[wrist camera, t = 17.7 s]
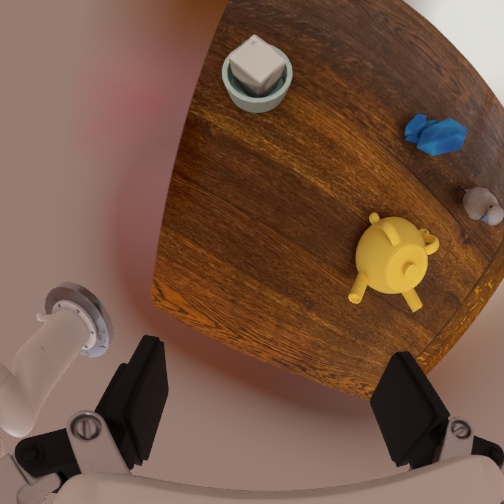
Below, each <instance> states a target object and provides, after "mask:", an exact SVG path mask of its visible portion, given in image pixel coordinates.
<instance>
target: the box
mask: <svg viewBox="0 0 504 504" xmlns="http://www.w3.org/2000/svg"><path fill="white" fill-rule="evenodd" d="M229 61H230V65H231V69H232V74H233V79H234V83H235V85H236V86H237V87H238V88H239V89H240V90H241V91H242V92H243V93H245V94H246V95H247V96H248V97H252V98H264V97H267V96H268V95H269V94H270V93H271V92H272V91H273V90H274V89H275V88H276V87H277V85H278V82H279V79H280V77H281V74H282V72H283V69H284V67H285V65H286V63H287V60H286V59H285V58H284V57H283V56H282V55H281V54H280V53H279V52H277V51H276V50H275V49H274V48H273V47H271V46H270V45H269V44H267V43H266V42H265V41H263V40H262V39H261V38H259V37H258V36H256V35H253V36H251V37H250V38H249V39H248V40H247V41H245V42H244V43H243V44H242V45H241V46H239V47H238V48H237V49H236V50H235V51H234V52H233V53H232V54H231V55H230V56H229Z"/></svg>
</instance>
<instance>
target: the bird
mask: <svg viewBox="0 0 504 504" xmlns="http://www.w3.org/2000/svg"><path fill="white" fill-rule="evenodd" d="M454 186H455V185H454ZM455 187H456V188H457V189H456V190H454V191H458V192H457V194H458V193H459V191H460V190H462V191H466V192H467V193H466V194H465V195H464V197H463V201H462V200H459V199H457V200H458V201H459V202H457V203H455V204H458V203H459V206H460V204H461V203H463V205H464V208H465V210H466V211H467V213H468V214H470V215H468V216H469V217H470V218H472V219H477V220H479V221H483V222H487V223H488V224H489V225H496V224H498V223H500V221H501V220H502V219H503V217H504V211H503V209H502V208H501V207H500V206H499V205H498V202H497V200H496V198H495V197H494V196H493V195H492V194H491V193H489V191H488V189H486V188H481V187H475V188H472V189H463V188H460V187H457V186H455ZM457 194H456V195H457ZM459 206H458V207H459ZM458 207H457V208H458Z"/></svg>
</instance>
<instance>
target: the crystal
mask: <svg viewBox="0 0 504 504" xmlns="http://www.w3.org/2000/svg"><path fill="white" fill-rule="evenodd" d="M426 117H427V115H420V114H417V115H416V116H415V117H414V118H413V119H412V120H411V121H410V122H409V123H408V125H407V126H406V128H405V135H404V136H406V137H405V140H406V141H408V142H411V143H418V144H417V148H418V149H420V150H422V151H424V152H426V153H428V154H430V155H431V156H435V155H439V154H443V153H447V152H451V151H455V150H459V149H461V147H462V145H463V142H464V139H465V136H466V134H467V131H468V129H467V128H465V127H464V126H462V125H461V124H459V123H457V122H456V121H454V120H453V119H451V118H448V119H446V120H444V121H441V122H438V121H437V120H427V121H426Z"/></svg>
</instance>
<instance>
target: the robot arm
mask: <svg viewBox="0 0 504 504" xmlns="http://www.w3.org/2000/svg"><path fill="white" fill-rule="evenodd" d="M36 318H37V320H39V321H41V322H45V324H44V325H43V326H42V327H41V328H40V329H39V330H38V331H37V332H36V333H35V334H34V335H32V336H31V338H30V339H29V340H28V341H27V342H26V343H25V344H24V345H23V346H22V347H21V348H20V349H19V350H18V351H17V353H16V354H15V357H14V361H13V374H12V373H11V372H10V371H9V370H8V369H7V368H6V366H5V365H4V364H3V362H2V361H1V360H0V427H1V428H2V429H3V430H4V431H6V432H7V433H8V434H10V435H12V436H15V437H24V436H26V435H28V434H29V433H30V431H31V430H32V429H33V427H34V425H35V422H36V420H37V417H38V415H39V412H40V410H41V407H42V405H43V403H44V401H45V400H46V398H47V396H48V395H49V393H50V392H51V390H52V389H53V387H54V386H55V385H56V383H57V382H58V381H59V379H60V378H61V376H62V375H63V374H64V372H65V371H66V370H67V368H68V367H69V366H70V364H71V363H72V362H73V360H74V359H75V357H76V356H77V355H78V354H79V352H80V351H81V350H82V349H83V350H87V349H90V348H92V347H93V346H94V344H95V343H96V341H97V329H96V326H95V324H94V322H93V320H92V318H91V317H90V315H89V314H88V313H87V312H86V311H85V310H84V309H83V308H82V307H81V306H80V305H78V304H77V303H75V302H73V301H70V300H60V301H58V302H57V303H56V304H55V305H54V306H53V309H52V314H51V315H49V314H48V315H45V314H43V313H40V312H38V313H37V316H36ZM167 396H168V380H167V371H166V361H165V350H164V342H162V341H160V340H159V338H158V337H154V336H148V335H144V336H143V338H142V339H141V341H140V343H139V345H138V347H137V349H136V350H135V352H134V354H133V356H132V358H131V359H130V361H129V363H128V364H126V363H122V364H120V366H119V367H118V369H117V371H116V373H115V374H114V376H113V378H112V380H111V381H110V383H109V385H108V387H107V389H106V391H105V392H104V394H103V396H102V398H101V400H100V402H99V404H98V405H97V407H96V409H95V411H94V412H93V411H88V410H85V411H79V412H76V413H74V414H73V415H71V416H70V418H69V419H68V421H67V424H66V428H64V429H60V430H57V431H53V432H49V433H46V434H42V435H38V436H33V437H29V438H26V439H23V440H21V441H20V442H19V443H18V444H17V446H16V448H15V454H13V455H10V454H9V453H8V454H6V455H5V456H4V453H5V445H4V442H3V440H2V439H1V437H0V504H40V502H42V501H43V500H45V499H46V498H45V496H47V495H48V494H50V493H51V492H52V493H57V495H56V496H55V498H54V500H53V502H52V504H504V453H503V451H502V449H501V447H500V446H499V445H497V444H495V443H492V442H490V441H487V440H485V439H482V438H479V437H477V436H474V429H473V426H472V424H471V423H470V422H469V421H468V420H467V419H465V418H463V417H454V418H452V419H451V420H450V421H449V420H448V417H449V416H450V413H449V412H448V410H447V409H446V407H445V405H444V404H443V402H442V401H441V399H440V397H439V396H438V394H437V393H436V391H435V389H434V388H433V386H432V385H431V383H430V382H429V380H428V379H427V377H426V376H425V374H424V373H423V371H422V370H421V368H420V367H419V365H418V364H417V362H416V361H415V359H414V358H413V356H412V355H411V353H410V352H408V351H405V352H396V353H395V354H394V356H392V357H391V359H390V361H389V363H388V365H387V367H386V369H385V371H384V373H383V375H382V377H381V379H380V381H379V383H378V385H377V387H376V389H375V391H374V393H373V395H372V397H371V399H370V404H371V407H372V409H373V412H374V414H375V417H376V420H377V422H378V425H379V427H380V430H381V432H382V435H383V438H384V440H385V443H386V446H387V448H388V451H389V454H390V456H391V459H392V461H394V462H395V463H396V466H397V467H400V466H403V465H407V464H408V463H409V464H410V468H409V471H407V472H404V473H400V474H397V475H393V476H389V477H385V478H381V479H376V480H371V481H366V482H361V483H355V484H350V485H343V486H336V487H329V488H319V489H308V490H292V491H247V490H230V489H219V488H210V487H201V486H193V485H186V484H180V483H175V482H169V481H164V480H158V479H152V478H147V477H143V476H136V475H132V474H131V472H130V470H131V469H133V467H134V464H136V465H140V466H142V462H143V460H148V458H149V454H150V452H151V448H152V445H153V441H154V438H155V434H156V432H157V428H158V425H159V422H160V419H161V415H162V412H163V409H164V405H165V402H166V399H167Z"/></svg>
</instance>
